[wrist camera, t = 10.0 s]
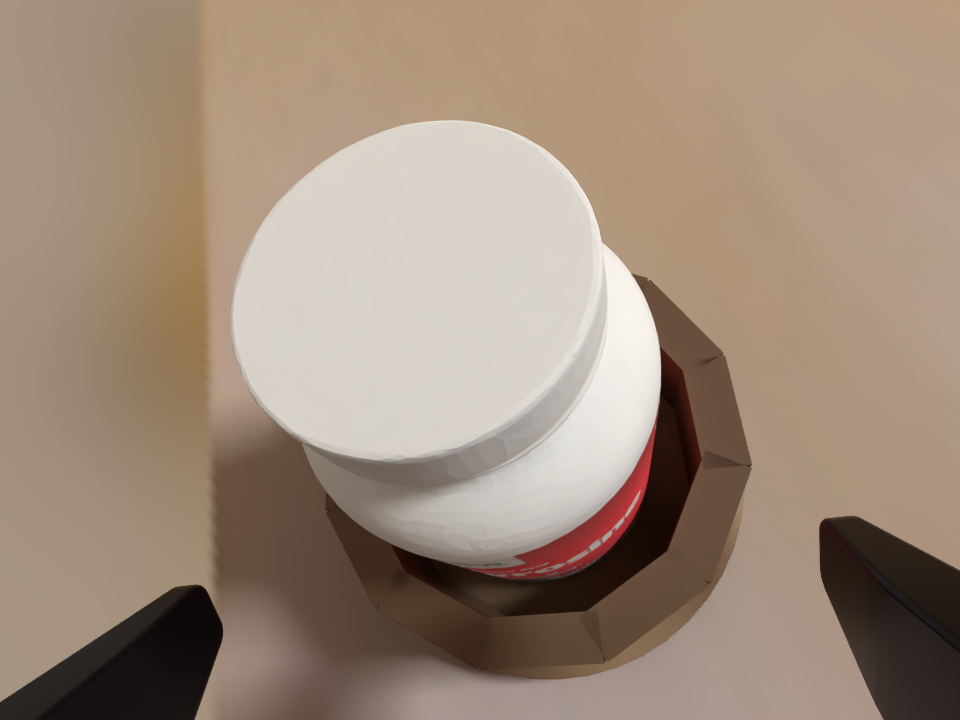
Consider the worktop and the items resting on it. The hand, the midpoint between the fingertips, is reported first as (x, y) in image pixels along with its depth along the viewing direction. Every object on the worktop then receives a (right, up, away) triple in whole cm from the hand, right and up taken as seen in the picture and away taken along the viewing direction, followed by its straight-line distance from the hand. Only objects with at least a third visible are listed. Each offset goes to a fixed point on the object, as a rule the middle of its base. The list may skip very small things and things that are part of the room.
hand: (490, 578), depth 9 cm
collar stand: (+2, 0, +9) cm, 10 cm away
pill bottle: (+1, 0, +9) cm, 9 cm away
